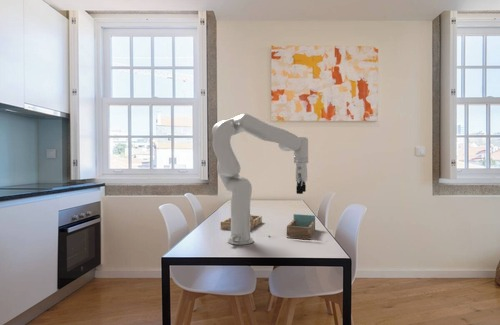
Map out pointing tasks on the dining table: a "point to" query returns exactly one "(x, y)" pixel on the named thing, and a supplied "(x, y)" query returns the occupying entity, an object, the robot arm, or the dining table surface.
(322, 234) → the dining table surface
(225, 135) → the robot arm
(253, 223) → the vegetable crate
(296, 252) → the dining table surface
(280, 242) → the dining table surface
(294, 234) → the box
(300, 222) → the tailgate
